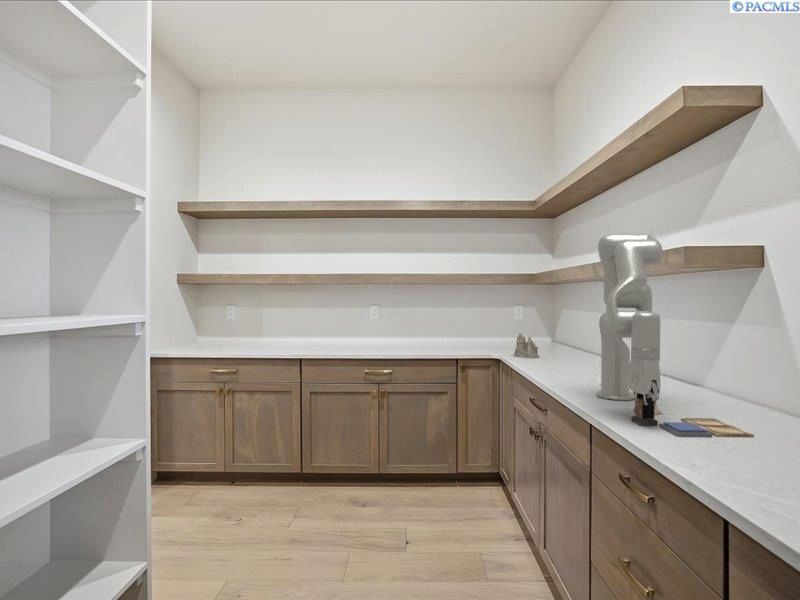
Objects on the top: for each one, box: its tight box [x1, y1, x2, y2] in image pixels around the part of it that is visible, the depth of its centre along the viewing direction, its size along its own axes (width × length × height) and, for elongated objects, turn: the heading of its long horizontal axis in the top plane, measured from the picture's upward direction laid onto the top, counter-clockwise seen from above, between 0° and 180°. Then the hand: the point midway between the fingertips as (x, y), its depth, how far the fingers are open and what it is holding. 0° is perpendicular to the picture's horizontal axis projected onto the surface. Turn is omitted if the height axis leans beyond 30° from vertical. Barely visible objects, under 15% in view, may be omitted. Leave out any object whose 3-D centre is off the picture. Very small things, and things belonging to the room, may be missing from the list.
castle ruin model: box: [513, 332, 540, 359], centre depth 282 cm, size 16×16×15 cm
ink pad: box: [658, 421, 713, 438], centre depth 127 cm, size 9×9×2 cm
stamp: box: [631, 398, 659, 427], centre depth 135 cm, size 5×5×7 cm
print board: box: [680, 417, 755, 438], centre depth 131 cm, size 16×10×1 cm, turn 179°
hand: (644, 415), depth 135 cm, fingers closed on stamp, 3 cm apart
